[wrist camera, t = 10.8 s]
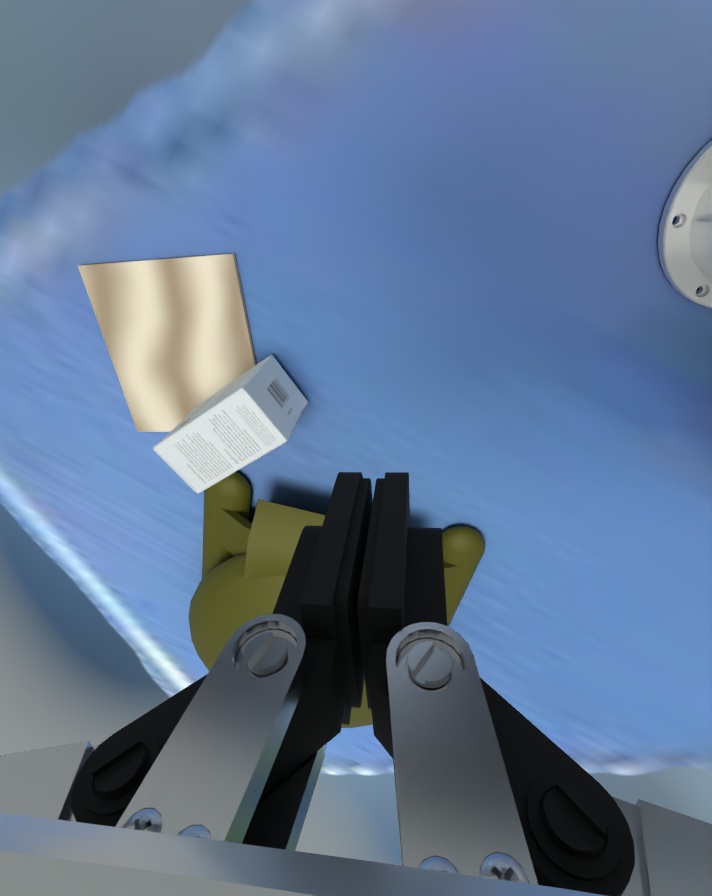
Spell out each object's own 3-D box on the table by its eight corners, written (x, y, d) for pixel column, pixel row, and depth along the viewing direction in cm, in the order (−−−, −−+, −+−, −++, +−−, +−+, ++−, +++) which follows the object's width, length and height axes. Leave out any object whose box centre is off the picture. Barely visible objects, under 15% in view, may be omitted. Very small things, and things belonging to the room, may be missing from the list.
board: (234, 253, 36) (232, 254, 36) (269, 427, 44) (267, 430, 43) (81, 265, 38) (77, 265, 38) (140, 429, 46) (137, 431, 45)
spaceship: (210, 458, 47) (164, 515, 39) (490, 525, 47) (506, 598, 38) (203, 654, 65) (171, 722, 57) (407, 703, 65) (404, 780, 56)
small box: (310, 400, 41) (231, 449, 45) (272, 351, 39) (193, 407, 43) (287, 443, 34) (197, 497, 38) (240, 387, 32) (149, 449, 36)
